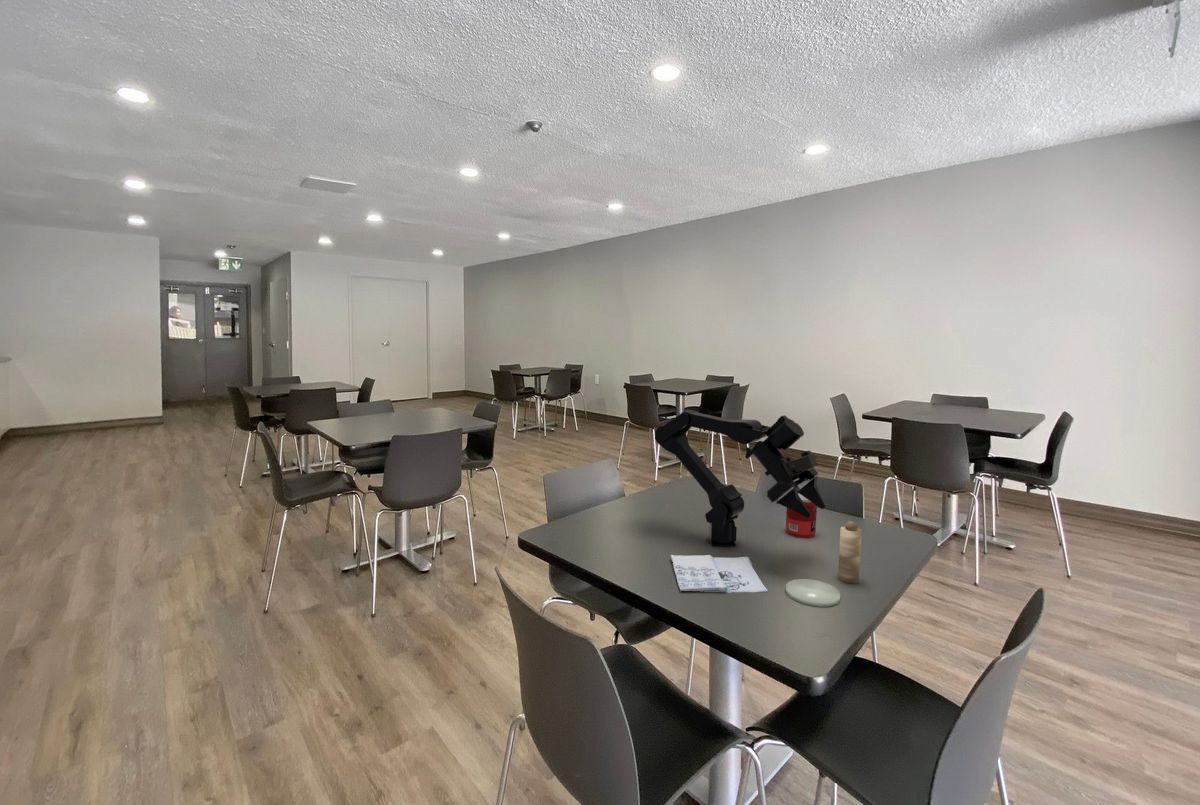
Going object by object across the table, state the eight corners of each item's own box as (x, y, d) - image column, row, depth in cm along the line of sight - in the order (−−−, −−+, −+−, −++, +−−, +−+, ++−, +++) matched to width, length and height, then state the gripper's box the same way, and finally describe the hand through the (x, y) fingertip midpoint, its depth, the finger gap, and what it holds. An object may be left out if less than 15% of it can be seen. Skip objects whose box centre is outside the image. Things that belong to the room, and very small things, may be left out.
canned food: (817, 539, 150) (819, 500, 149) (787, 537, 152) (789, 499, 151) (812, 529, 158) (814, 493, 157) (784, 527, 159) (785, 491, 158)
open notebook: (670, 560, 137) (670, 552, 137) (750, 561, 136) (750, 553, 136) (678, 595, 118) (678, 586, 118) (771, 597, 117) (772, 588, 117)
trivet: (795, 606, 112) (795, 601, 112) (779, 582, 123) (779, 578, 123) (848, 607, 112) (849, 602, 112) (828, 583, 123) (828, 579, 123)
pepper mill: (842, 583, 123) (845, 524, 121) (834, 575, 127) (837, 518, 126) (862, 583, 123) (865, 524, 121) (853, 575, 127) (857, 518, 126)
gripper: (780, 446, 124) (828, 501, 118) (811, 436, 138) (855, 485, 132) (748, 475, 130) (792, 529, 124) (780, 462, 144) (821, 510, 138)
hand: (817, 512), depth 129 cm, fingers open, 9 cm apart
